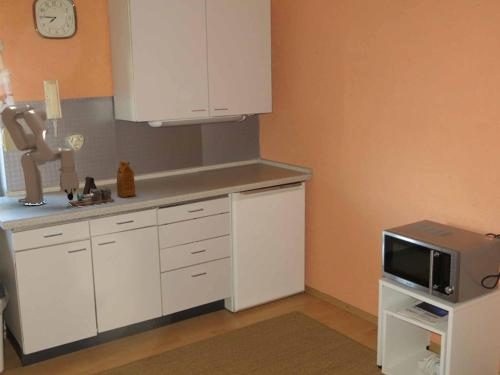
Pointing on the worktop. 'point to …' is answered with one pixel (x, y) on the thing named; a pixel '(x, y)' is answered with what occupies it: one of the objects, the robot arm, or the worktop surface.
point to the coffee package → (125, 180)
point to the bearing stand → (95, 198)
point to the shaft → (86, 196)
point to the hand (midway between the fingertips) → (70, 200)
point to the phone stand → (89, 185)
